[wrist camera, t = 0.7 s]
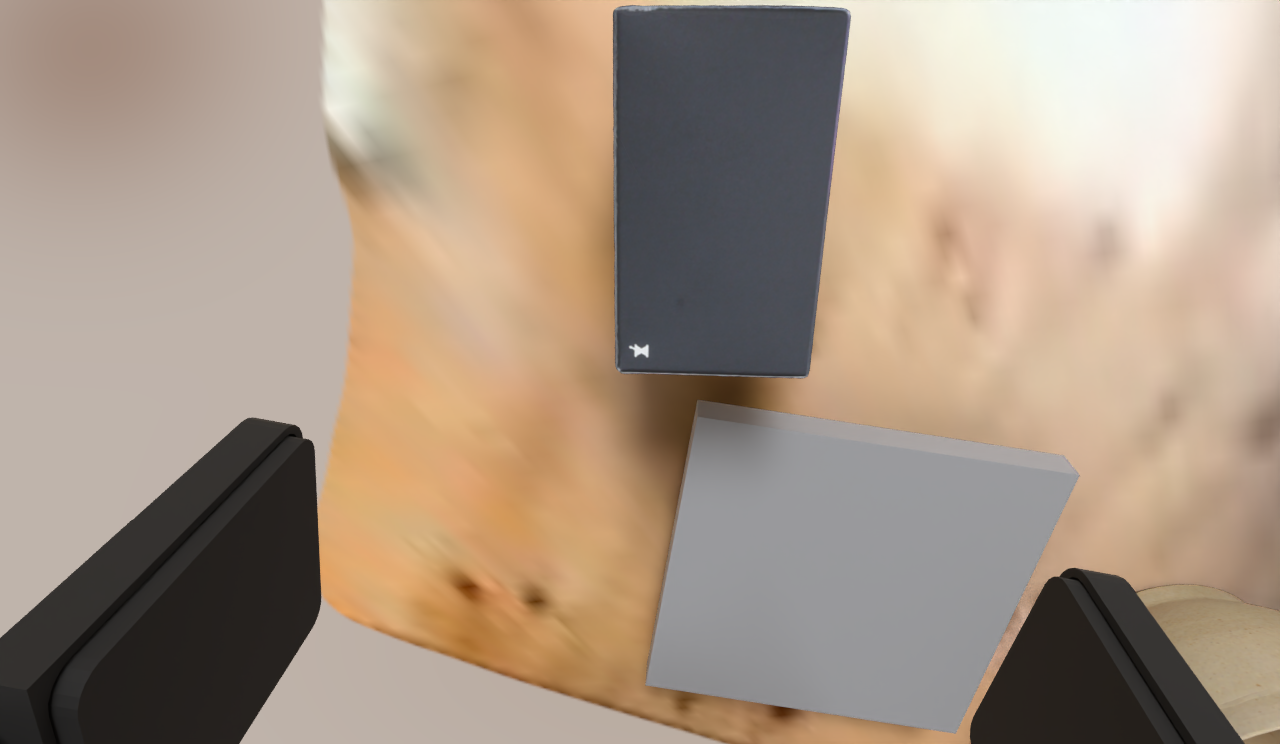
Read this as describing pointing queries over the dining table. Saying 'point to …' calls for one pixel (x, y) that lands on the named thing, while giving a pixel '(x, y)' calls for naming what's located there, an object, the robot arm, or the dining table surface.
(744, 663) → the stand
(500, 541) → the dining table surface
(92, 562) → the robot arm
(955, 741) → the dining table surface
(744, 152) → the small box
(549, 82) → the dining table surface
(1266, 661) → the planter bowl
